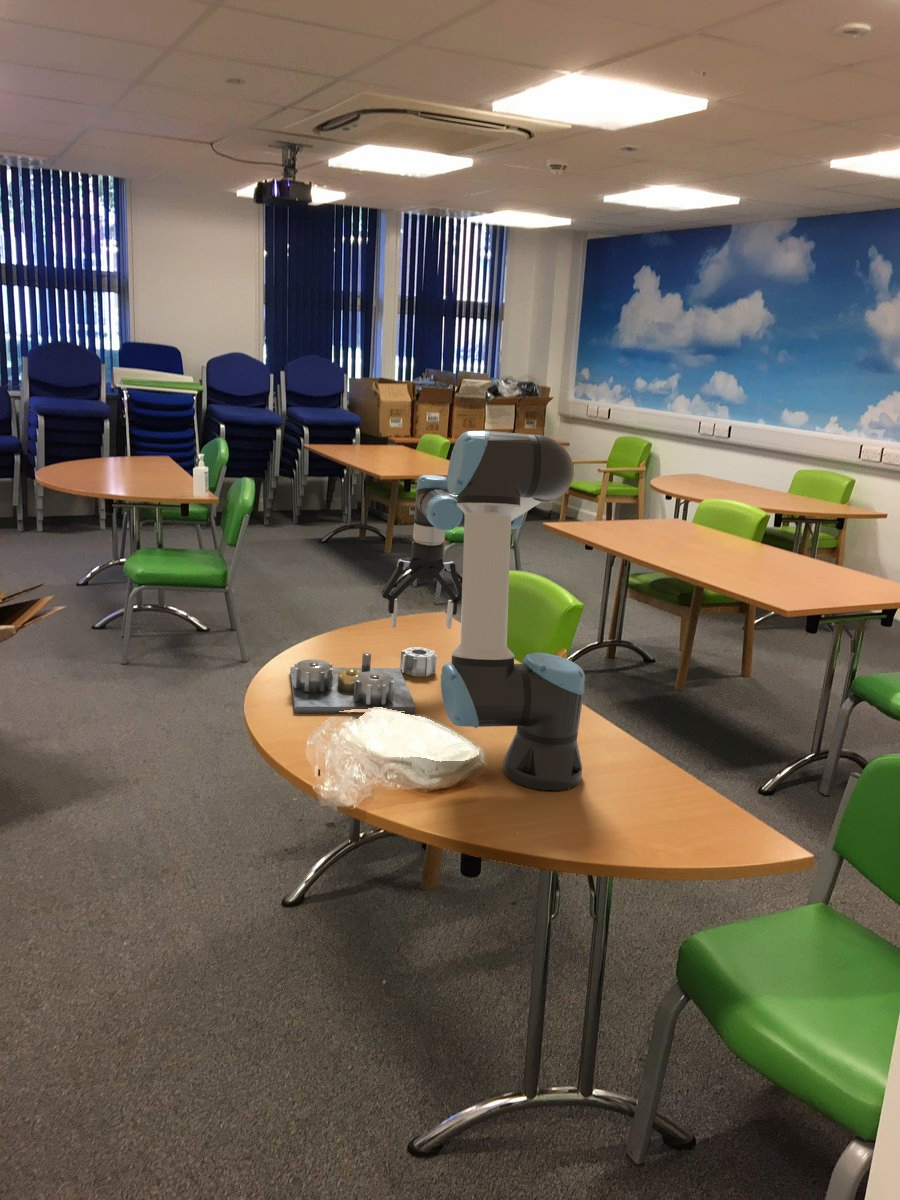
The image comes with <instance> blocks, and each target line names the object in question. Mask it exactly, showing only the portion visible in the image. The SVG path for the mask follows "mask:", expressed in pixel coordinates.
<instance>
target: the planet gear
mask: <svg viewBox="0 0 900 1200" xmlns="http://www.w3.org/2000/svg"><path fill="white" fill-rule="evenodd" d="M437 661H438V655H437V654H436V651H435V650H433V649H429V648H426V647H423V646H422V647H421V646H420V647H419V646H416V647H415V646H414V647H413V646H410V647H408V648H405V649H402V650H401V653H400V665H399V666H400V667H399V669H401V673H403V674H405V675H408V676H412V677H415V678H417V677H422V678H423V677H424V678H425V677H426V678H427V677H430V676H431V675H433V674H436V672H437Z"/></svg>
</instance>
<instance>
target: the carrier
mask: <svg viewBox="0 0 900 1200" xmlns="http://www.w3.org/2000/svg"><path fill="white" fill-rule="evenodd" d="M361 661H362V662H361V667H333V664H332V663H331V662H330V663H329V662H328V661H326V660H321V659H315V658H314V659H303V660H301V661H299V662H295V663H294V665H293V666H291V667H290V671H289V675H290V681H291V682H290V683H291V684H290V685H291V692H292V698H293V699H292V701H293V708H294V709H293V710H294V714H336V713H335V712H339V711H344V710H351V709H368V708H373V707H383V708H387V709H392V710H397V711H405V712H408V713H407V714H416V711H417V706H416V704H415V702H414V699H413V696H412V694H411V693H410V689H409V687H408V685H407V683H406V680H405V678H404V676H403V674H402V673H403V672H402V670H401V668H400V667H399V668H398V667H397V668H396V667H371V662H372V653H368V652H364V653H362V659H361Z"/></svg>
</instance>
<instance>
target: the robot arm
mask: <svg viewBox="0 0 900 1200" xmlns="http://www.w3.org/2000/svg"><path fill="white" fill-rule="evenodd" d="M452 448H453V449H452V451H451V453H450V455H451V456H450V459H449V463H448V469H447V477H446V476H441V475H434V474H424V475H420V476H419V477H418V478H417V483H416V488H415V492H416V493H415V494H416V495H415V506H414V507H415V509H414V521H413V532H412V539H413V541H412V543H411V557H410V560H408V561H407V560H403V559H401V558H398V559H397V563H396V566H395V567H396V568H395V569H394V571H393V573H391V576H390V577H389V578H388V581H387V582H386V584H385V585H384V587H383V589H382V591H381V592H380V594H381V596H382V598H383V599H387V600H388V602H387V611H388V613H389V614H391V621H390V622H391V623H390V625H391V627H392V628H393V629H394V628H397V617H398V604H399V603H398V602H399V601H398V599H397V598H398V597H399V596H400V595H401V594H402V593H403V592H405V590H406V589H407V588H408V587H409V586H410V585H411V584H412V583H413V582H414V581H416V580H419V581H424V580H427V581H433V580H437V582H438V583H439V585H441V587H442V589H444V591H445V592H446V594H447V595H448V596H449V598H450V599H448V600H447V609H446V622H445V626H446V628H447V629H448V630H451V629H452V626H453V625H452V624H453V623H452V621H453V615H454V616H456V615H457V612H458V604H459V603H460V602H461V611H460V612H461V613H460V638H459V639H460V642H459V645H458V646H457V647H456V648H455V649H454V650H453V651H452V653H451V662H447V663H445V664H443V665H442V668H441V674H440V688H441V689H440V690H441V696H442V702H443V705H444V709H445V712H446V716H447V717H448V719H449V721H450V722H451V723H452V724H453V725H455V726H458V727H469V728H471V727H472V728H474V729H477V728H480V727H481V728H482V727H484V728H485V727H489V728H490V727H516V731H515V735H514V737H513V738H512V740H511V742H510V744H509V747H508V749H507V751H506V753H505V755H504V759H503V766H502V767H503V768H502V769H503V773H504V775H505V776H506V777H507V778H508V779H509V780H511V781H512V782H514V783H516V784H518V785H520V786H523V787H525V788H528V787H529V788H528V789H532V788H533V790H537V789H541V790H540V791H544V790H561V791H565V789H567V790H569V789H568V788H570V789H573V788H575V787H577V784H578V783H579V782H580V783H581V781H582V775H583V763H582V760H581V755H580V750H579V745H578V734H579V727H580V720H581V713H582V707H583V700H584V694H585V677H586V676H585V672H584V670H583V668H581V667H580V665H578V664H577V663H576V662H573V661H572V660H570V659H568V658H565V657H563V656H559V655H556V654H551V653H545V652H531V653H528V654H526V655H525V656H524V659H523V663H515V654H514V653H513V652H512V651H511V650H510V649H509V647H508V644H507V643H508V618H509V617H508V616H509V615H508V613H509V593H510V592H509V589H510V563H511V562H510V561H511V560H510V559H511V537H512V536H511V535H512V530H515V529H518V528H520V526H521V524H522V522H523V519H524V514H525V513H527V512H528V511H530V510H532V508H534V507H536V506H537V505H539V504H542V503H550V502H552V501H554V500H557V499H559V498H560V497H562V496H563V495H564V494H565V493H566V492H567V491H568V489H570V486H571V485H572V483H573V479H574V475H575V474H574V473H575V471H574V470H575V467H574V464H573V463H574V462H573V461H572V457H571V456H570V454H569V452H568V451H567V449H566V448H565V447H564V445H561V443H559V442H558V441H557V440H555V439H553V438H551V437H548V436H545V435H542V434H534V433H532V434H527V433H514V432H505V431H495V430H493V431H492V430H469V431H464V432H463V433H462V434H460V435H459V436H458V438H457V439H456V441H455V443H454V446H453V447H452ZM456 528H463V552H462V554H463V555H462V579H461V580H462V583H461V582H460V580H459V576H458V575H457V571H456V564H455V562H454V561H453V560H449V561H445V562H444V560H443V559H444V549H445V545H444V543H443V542H445V537H446V531H451V530H454V529H456ZM407 567H409V569H410V572H409V573H407V575H406V576H405V577H404V578H403V579H402V580H401V582H400V583H399V584H398V585H397V586H395V585H396V583H397V582H398V580H399V578H400V576H401V575H402V573H403V571H405V570H406V568H407ZM444 568H445V570H446V571H447V572H449V575H450V578H451V580H452V582H453V585H454V587H455V591H456V593H457V594H455V593H454V591H453V590H452V589H451V588H450V586H449V585H448V583H447V582H446V581H445V580H444V578H443V577H442V576H441V574H440V573H441V572H442V571H443V570H444ZM461 584H462V585H461ZM394 587H395V588H394ZM393 588H394V589H393ZM580 783H579V784H580ZM579 784H578V785H579ZM574 786H575V787H574ZM572 787H573V788H572Z"/></svg>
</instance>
